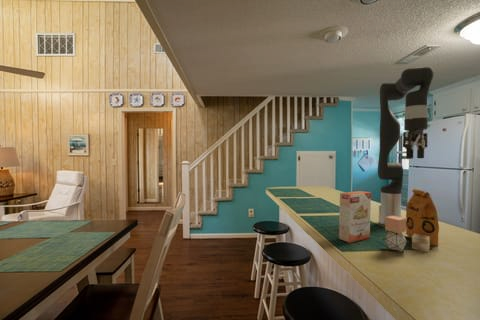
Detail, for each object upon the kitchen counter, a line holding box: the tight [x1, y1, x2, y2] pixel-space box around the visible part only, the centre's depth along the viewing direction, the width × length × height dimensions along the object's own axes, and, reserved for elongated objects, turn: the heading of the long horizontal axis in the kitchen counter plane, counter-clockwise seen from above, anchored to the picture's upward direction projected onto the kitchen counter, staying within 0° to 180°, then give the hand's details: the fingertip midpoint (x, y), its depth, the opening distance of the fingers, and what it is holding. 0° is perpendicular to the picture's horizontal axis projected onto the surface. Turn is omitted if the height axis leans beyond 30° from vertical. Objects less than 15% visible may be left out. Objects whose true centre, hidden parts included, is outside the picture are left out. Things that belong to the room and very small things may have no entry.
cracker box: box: [338, 190, 372, 244], centre depth 106 cm, size 14×6×21 cm, turn 118°
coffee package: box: [405, 188, 440, 247], centre depth 104 cm, size 10×12×22 cm
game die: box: [382, 230, 410, 254], centre depth 93 cm, size 9×8×10 cm
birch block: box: [411, 234, 431, 253], centre depth 95 cm, size 5×5×5 cm
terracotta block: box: [384, 216, 406, 234], centre depth 93 cm, size 5×5×5 cm
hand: (415, 158), depth 96 cm, fingers open, 8 cm apart
